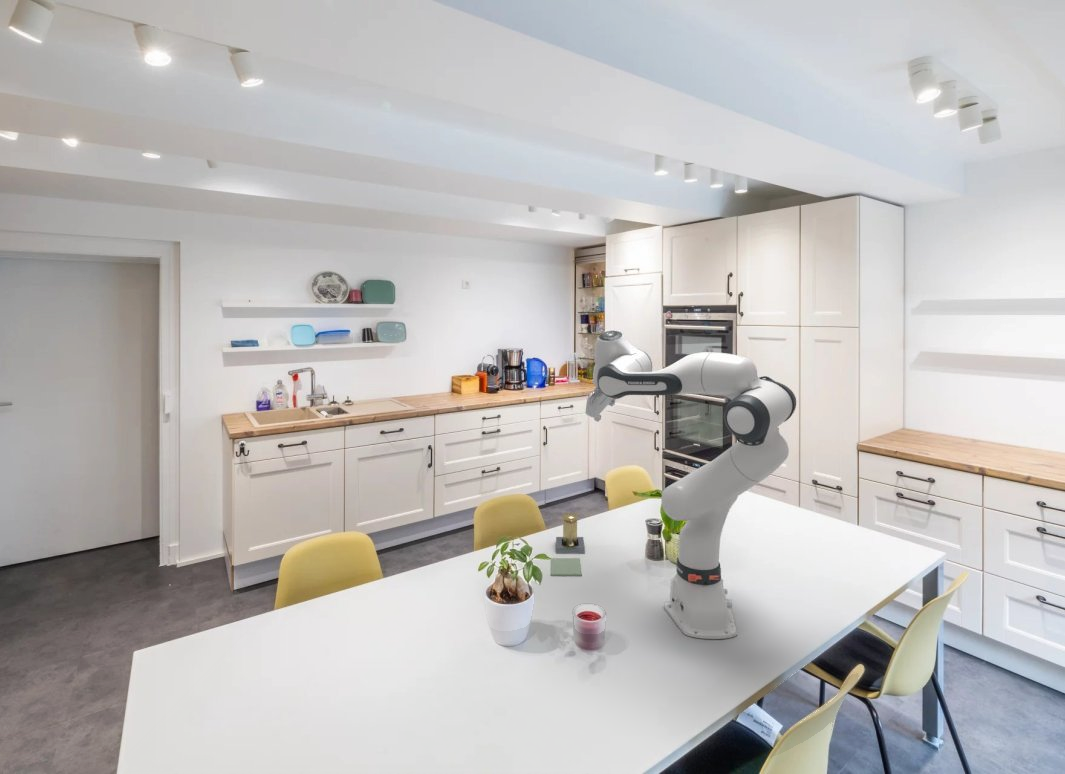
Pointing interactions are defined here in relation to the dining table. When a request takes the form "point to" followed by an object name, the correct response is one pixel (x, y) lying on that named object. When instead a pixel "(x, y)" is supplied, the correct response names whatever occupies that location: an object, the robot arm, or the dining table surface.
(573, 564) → the mat
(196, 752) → the dining table surface
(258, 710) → the dining table surface
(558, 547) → the housing
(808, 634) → the dining table surface
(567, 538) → the olive metal cylinder
